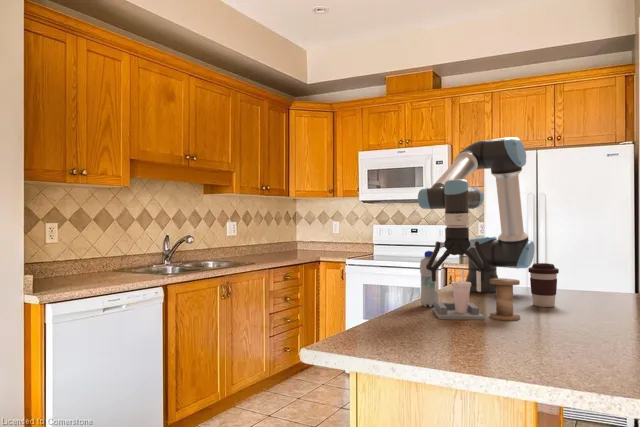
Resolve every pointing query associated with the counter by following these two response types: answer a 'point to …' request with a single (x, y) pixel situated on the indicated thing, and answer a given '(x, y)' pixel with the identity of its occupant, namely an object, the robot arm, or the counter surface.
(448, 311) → the notch board
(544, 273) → the coffee cup
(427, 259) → the bottle
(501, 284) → the bobbin
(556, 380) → the counter surface
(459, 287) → the smoothie
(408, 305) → the counter surface
